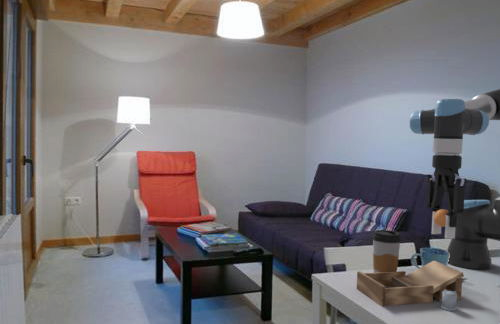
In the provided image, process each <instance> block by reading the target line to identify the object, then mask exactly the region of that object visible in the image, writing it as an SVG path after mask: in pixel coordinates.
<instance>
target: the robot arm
mask: <svg viewBox="0 0 500 324" xmlns="http://www.w3.org/2000/svg"><path fill="white" fill-rule="evenodd" d="M490 121H500V88H498V89H495V90H491V91H488V92H484V93H482V94H481V93H480V94H478V95H476V96H474V97H473V98H471V99H468V100H465V101H464V100H463V99H461V98H460V99H459V98H444V99H443V98H442V99H439V100H437V101H436V103H435V108H433V109H429V110H428V109H427V110H424V109H422V110H421V109H420V110H416V111H414V112H413V113H412V114H411V115H410V117H409V128H410V130H411V132H412V133H413V134H418V135H420V134H421V135H433V142H432V143H433V144H432V152H433V153H434V154H433V155H432V163H431V166H432V168H434V172H433V173H432V174H426V175H427V176H426V179H427V192H426V208H428V209H430V211H431V233H430V234H431V235H442V228H443V227H442V226H439V225H438V224H437V223H436V222H435V219H434V216H435V213H436V212H437V211H438V210H441V209H442V205H443V199H444V196H445V198H446V205H447V210H448V213H447V214H446V223H445V227H444V239H446V240H447V239H449V240H450V242H449V244H448V248H447V249H446V252H447V251H448V252H449V253H450V258H449V263H448V264H450V265H451V266H456V267H460V268H465V269H471V270H472V269H473V270H474V269H475V270H488V269H491V268H492V266H493V265H492V263H493V262H492V258H491V255H490V250H489V247H488V240H493V241H498V242H500V196H498V197H497V198H494V203H493V205H492V204H491V201H490V200H489V199H465V193H466V191H465V190H466V185H467V182H468V181H467V180H468V179H467V178H462V177H461V176H460V173H459V169H461V168H462V164H463V163H462V162H463V160H462V159H463V157H462V156H461V155H460V154H462V153H463V143H464V142H463V139H464V135H470V136H477V135H481V134H483V133H484V132H486V130H487V129H488V127H489V125H490Z"/></svg>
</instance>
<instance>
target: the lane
mask: <svg viewBox="0 0 500 324" xmlns="http://www.w3.org/2000/svg"><path fill="white" fill-rule="evenodd" d="M356 272H357V273H356V289H357V290H358V291H359V292H361V293H363V295H365V296H367V297H368V298H369V299H370V300H372V301H374V302H375V303H377V304H378V305H379V306H383V307H384V306H398V305H409V304H410V305H411V304H413V305H414V304H427V303H433V302H434V299H436V300H437V301H439V302H442V292H443V291H445V290H447V291H452V292H453V291H455V292H456V293H457V301H458V300H462V290H463V289H462V287H463V277H465V276H464V272H462V271H461V270H458V269H456V268H453V267H451V266H448V265H446V264H443V263H441V262H439V261H436V260H432V261H431V262H428V263H426V264H424V265H423V266H422V267H421V266H420V267H419V268H417V269H416V270H414V271H412V272H410V273H408V274H407V273H406V271H403V270H402V271H400V270H399V271H397V272H378V273H374V272H362V271H356Z"/></svg>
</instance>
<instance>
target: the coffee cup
mask: <svg viewBox="0 0 500 324" xmlns="http://www.w3.org/2000/svg"><path fill="white" fill-rule="evenodd" d="M401 238H402V237H401V236H400V233H399V232H398V231H395V230H386V229H378V230H374V234H373V235H372V247H373V249H372V250H373V251H372V263H373V264H372V265H373V266H372V268H373V273H378V272H398V266H399V257H400V256H399V255H400V254H399V253H400V246H401V242H402V240H401Z"/></svg>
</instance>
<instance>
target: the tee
mask: <svg viewBox="0 0 500 324" xmlns="http://www.w3.org/2000/svg"><path fill="white" fill-rule="evenodd" d="M457 301H458V300H457V293H456V292H455V291H453V292H452V291H447V290H445V291H443V292H442V301H441V304H440V308H441V309H442V310H445V311H449V312H456V311H458V306H457Z"/></svg>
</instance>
